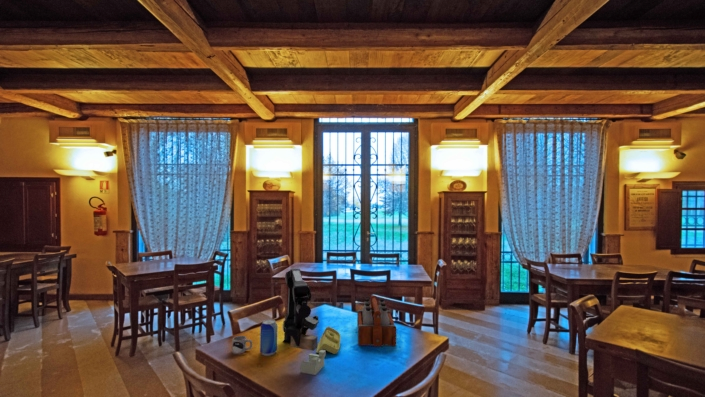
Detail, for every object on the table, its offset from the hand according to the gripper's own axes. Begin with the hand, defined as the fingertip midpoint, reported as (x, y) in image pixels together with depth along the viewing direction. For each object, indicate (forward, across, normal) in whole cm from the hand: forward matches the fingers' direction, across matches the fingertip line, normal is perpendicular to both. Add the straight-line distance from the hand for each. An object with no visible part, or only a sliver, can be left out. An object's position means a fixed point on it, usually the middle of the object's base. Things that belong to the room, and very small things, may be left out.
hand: (300, 344), depth 152 cm
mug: (+11, +4, +36) cm, 38 cm away
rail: (+1, 0, -2) cm, 2 cm away
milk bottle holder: (+11, +49, -24) cm, 55 cm away
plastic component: (+11, +25, -5) cm, 27 cm away
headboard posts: (+10, 0, -6) cm, 12 cm away
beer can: (+10, +7, +22) cm, 25 cm away
